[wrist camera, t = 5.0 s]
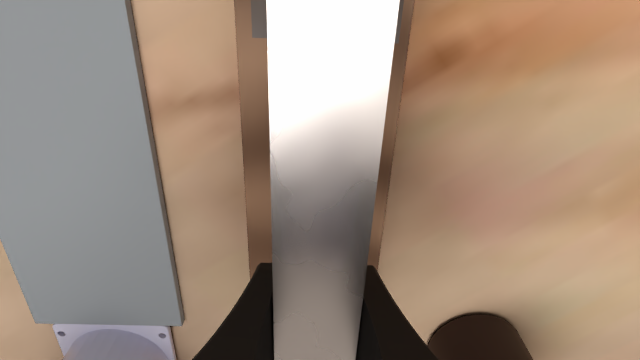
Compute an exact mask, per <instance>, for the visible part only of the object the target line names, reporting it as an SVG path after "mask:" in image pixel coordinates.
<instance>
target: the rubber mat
mask: <svg viewBox="0 0 640 360" xmlns="http://www.w3.org/2000/svg"><path fill="white" fill-rule="evenodd" d="M0 239H1V242H2V244H3V247H4V249H5V251H6V254H7V256H8V259H9V261H10V263H11V266H12V268H13V271H14V273H15V275H16V278H17V280H18V283H19V285H20V287H21V290H22V292H23V294H24V297H25V299H26V302H27V304H28V306H29V309H30V311H31V314H32V316H33V318H34V321H35V323H43V324H95V325H146V326H182V325H183V322H184V314H183V308H182V302H181V296H180V290H179V284H178V278H177V273H176V267H175V261H174V255H173V249H172V243H171V237H170V231H169V226H168V220H167V214H166V208H165V202H164V196H163V190H162V184H161V178H160V173H159V167H158V161H157V155H156V149H155V143H154V137H153V131H152V125H151V120H150V114H149V108H148V102H147V96H146V90H145V84H144V78H143V72H142V67H141V61H140V55H139V49H138V43H137V37H136V31H135V25H134V19H133V14H132V8H131V2H130V0H0Z"/></svg>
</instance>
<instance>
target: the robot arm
mask: <svg viewBox="0 0 640 360" xmlns="http://www.w3.org/2000/svg"><path fill="white" fill-rule="evenodd" d="M53 330H54V333H55V335H56V338H57V340H58V343H59V345H60V348H61V350H62V353H63V355H64V358H63V359H62V360H176V355H175V350H174V345H173V339H172V334H171V329H170V326H146V325H95V324H54V325H53ZM163 333H164V334H163ZM192 360H274V321H273V273H272V263H260V264H259V265H257V268H256V270H255V272H254V274H253V276H252V278H251V280H250V282H249V283H248V285H247V287H246V289H245V290H244V292H243V294H242V295H241V297H240V298H239V300H238V301H237V303H236V304H235V306H234V307H233V309H232V310H231V312H230V313H229V315H228V316H227V317H226V319H225V320H224V321H223V323H222V324H221V326H220V327H219V328H218V330H217V331H216V332H215V333H214V335H213V336H212V337H211V338H210V340H209V341H208V342H207V343H206V344H205V346H204V347H203V348H202V349H201V350H200V351H199V352H198V354H197V355H196V356H195V357H194V358H193V359H192ZM356 360H439V359H438V358H437V357H436V355H435V354H434V353H433V352H432V351H431V350H430V349H429V347H428V346H427V345H426V344H425V343H424V341H423V340H422V339H421V338H420V336H419V335H418V334H417V332H416V331H415V330H414V328H413V327H412V326H411V325H410V323H409V322H408V320H407V319H406V318H405V316H404V315H403V313H402V312H401V310H400V309H399V307H398V306H397V304H396V303H395V301H394V300H393V298H392V297H391V295H390V293H389V292H388V290H387V288H386V287H385V285H384V283H383V281H382V280H381V278H380V276H379V274H378V272H377V270H376V268H375V267H374V266H373V265H367V270H366V278H365V286H364V294H363V303H362V311H361V319H360V327H359V335H358V343H357V351H356Z"/></svg>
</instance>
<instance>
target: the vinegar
mask: <svg viewBox="0 0 640 360" xmlns="http://www.w3.org/2000/svg"><path fill="white" fill-rule="evenodd" d="M428 347H429V349H430V350H431V351H432V352H433V353H434V354H435V355H436V357H437V358H438V359H439V360H533V359H532V357H531V355H530V353H529V351H528V350H527V348H526V346H525V344H524V343H523V341H522V339H521V337H520V335H519V334H518V332H517V330H516V329H515V328H514V327H513V326H512V325H510V324H509V323H508V322H507V321H506V320H503V319H501V318H498V317H496V316H490V315H482V314H478V315H469V316H464V317H461V318H458V319H455V320H452V321H450V322H449V323H447V324H446V325H444V326H442V327H441V328H440V329H439V330H438V331H437V332H436V333H435V334H434V335H433V336H432V337H431V340H430V342H429V344H428Z"/></svg>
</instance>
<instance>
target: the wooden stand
mask: <svg viewBox="0 0 640 360" xmlns="http://www.w3.org/2000/svg"><path fill="white" fill-rule="evenodd" d="M414 1H415V0H400V2H399V10H398V18H397V26H396V34H395V43H394V51H393V59H392V67H391V75H390V83H389V91H388V99H387V108H386V116H385V124H384V132H383V140H382V148H381V156H380V164H379V173H378V181H377V189H376V197H375V205H374V213H373V221H372V229H371V238H370V246H369V254H368V262H367V265H373V266H374V267H375V268H376V270H377V269H378V262H379V255H380V248H381V240H382V233H383V226H384V219H385V211H386V204H387V197H388V190H389V182H390V175H391V168H392V160H393V153H394V146H395V139H396V131H397V124H398V117H399V110H400V102H401V95H402V88H403V81H404V73H405V66H406V59H407V51H408V44H409V37H410V30H411V22H412V15H413V8H414ZM234 7H235V25H236V42H237V59H238V77H239V94H240V111H241V129H242V146H243V164H244V181H245V198H246V216H247V233H248V251H249V268H250V280H251V278H252V276H253V274H254V272H255V270H256V268H257V265H259V264H260V263H272V226H271V178H270V131H269V83H268V35H267V0H234Z"/></svg>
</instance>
